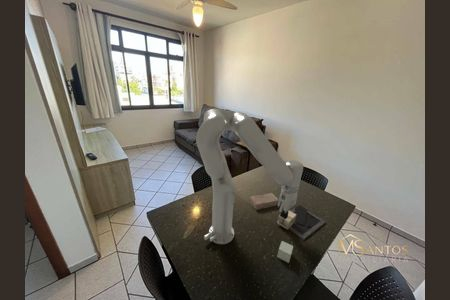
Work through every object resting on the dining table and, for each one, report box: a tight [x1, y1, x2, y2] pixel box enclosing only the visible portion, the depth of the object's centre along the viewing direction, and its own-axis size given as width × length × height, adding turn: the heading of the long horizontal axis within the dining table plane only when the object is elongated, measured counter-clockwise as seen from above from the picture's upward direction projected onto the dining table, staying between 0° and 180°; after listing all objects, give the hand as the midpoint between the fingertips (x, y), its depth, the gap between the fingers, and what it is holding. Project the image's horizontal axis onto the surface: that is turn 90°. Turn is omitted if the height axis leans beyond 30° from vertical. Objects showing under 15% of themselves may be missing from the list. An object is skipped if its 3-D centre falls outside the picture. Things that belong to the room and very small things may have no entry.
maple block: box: [277, 210, 296, 230], centre depth 93 cm, size 5×6×8 cm
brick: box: [249, 192, 279, 211], centre depth 110 cm, size 16×8×5 cm, turn 109°
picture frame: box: [276, 204, 326, 241], centre depth 97 cm, size 16×2×21 cm
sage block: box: [276, 240, 294, 264], centre depth 77 cm, size 5×5×5 cm
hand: (283, 217), depth 89 cm, fingers closed
